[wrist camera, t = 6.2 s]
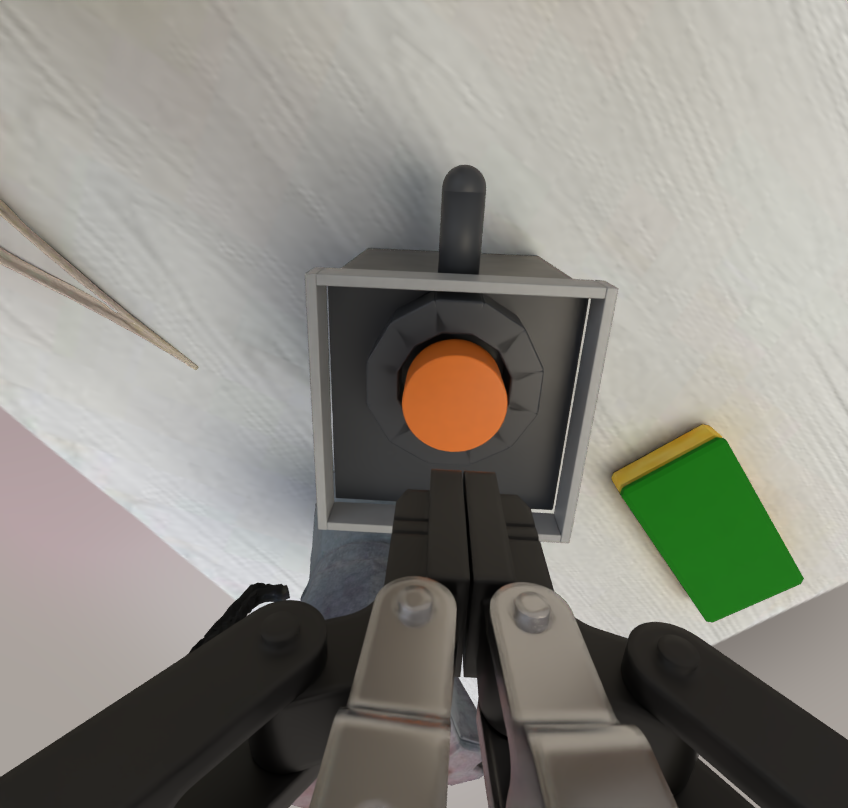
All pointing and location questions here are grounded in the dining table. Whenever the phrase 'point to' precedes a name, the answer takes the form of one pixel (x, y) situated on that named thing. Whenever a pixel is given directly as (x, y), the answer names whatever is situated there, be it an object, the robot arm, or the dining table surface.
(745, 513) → the dish sponge
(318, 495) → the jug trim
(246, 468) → the dining table surface
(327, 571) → the moka pot
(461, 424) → the lid button
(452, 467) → the grey button box
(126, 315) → the tweezers
